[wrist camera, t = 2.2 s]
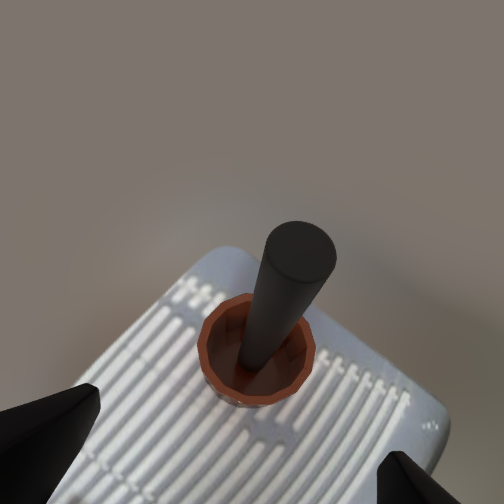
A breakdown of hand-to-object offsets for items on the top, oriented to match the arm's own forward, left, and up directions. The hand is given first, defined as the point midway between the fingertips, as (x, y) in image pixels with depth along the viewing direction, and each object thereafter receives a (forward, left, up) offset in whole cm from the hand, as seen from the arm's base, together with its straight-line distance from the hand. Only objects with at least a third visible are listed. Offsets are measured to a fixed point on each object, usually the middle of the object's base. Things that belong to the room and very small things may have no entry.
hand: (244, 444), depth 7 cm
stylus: (+5, +1, -11) cm, 12 cm away
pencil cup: (+5, +1, -12) cm, 13 cm away
